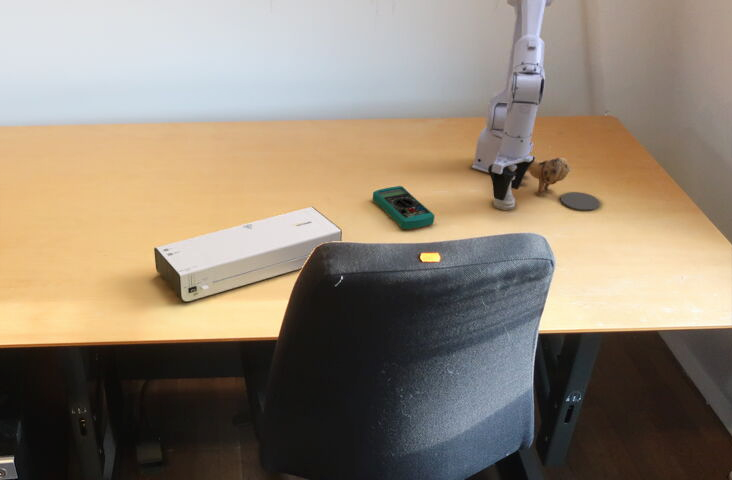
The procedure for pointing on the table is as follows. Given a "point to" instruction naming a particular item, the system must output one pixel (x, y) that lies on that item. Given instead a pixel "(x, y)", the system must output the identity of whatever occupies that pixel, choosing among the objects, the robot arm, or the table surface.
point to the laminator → (243, 253)
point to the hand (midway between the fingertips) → (506, 193)
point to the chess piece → (507, 196)
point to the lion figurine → (548, 172)
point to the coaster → (580, 201)
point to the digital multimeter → (403, 207)
